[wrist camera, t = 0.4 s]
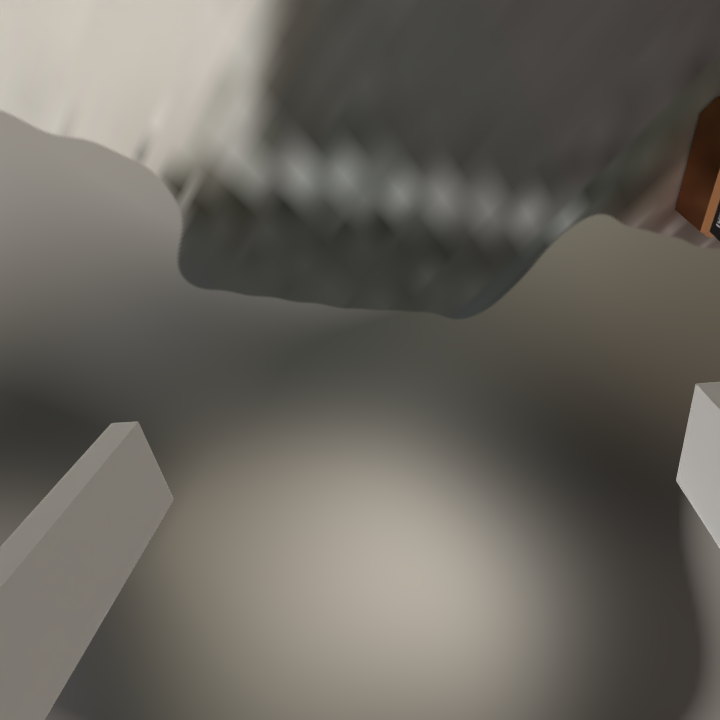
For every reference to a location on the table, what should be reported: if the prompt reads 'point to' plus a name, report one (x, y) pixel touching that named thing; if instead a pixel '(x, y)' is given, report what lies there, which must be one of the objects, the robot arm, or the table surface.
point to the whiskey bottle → (703, 175)
